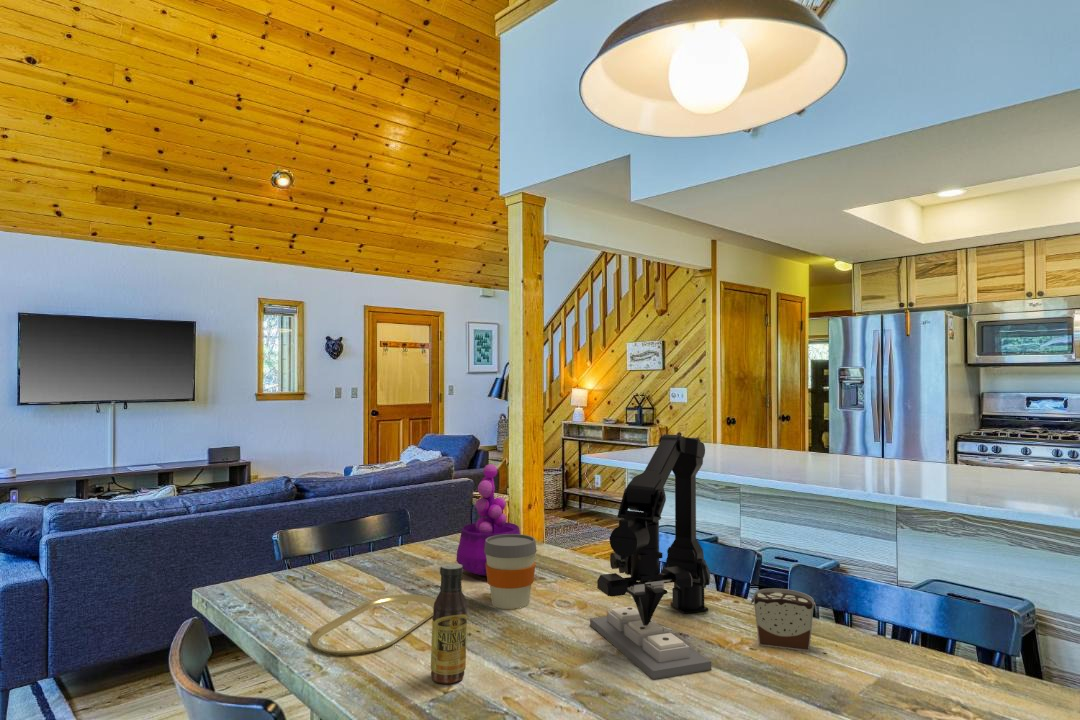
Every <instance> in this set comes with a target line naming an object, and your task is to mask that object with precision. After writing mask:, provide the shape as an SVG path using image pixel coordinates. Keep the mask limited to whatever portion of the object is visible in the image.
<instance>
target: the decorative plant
mask: <svg viewBox="0 0 1080 720" xmlns="http://www.w3.org/2000/svg"><path fill="white" fill-rule="evenodd" d="M482 472H483V475H484V476H485V477H483V478H482V480H480V482H479V484H478V486H477V492H478V494H479V495H480V496H481V497H482V498H481V497H480V498H479V499H477V500H476V502H475V506H474V507H475V508H476V510H477V513H478V515H479V516H480V517H479V519H478V520H476V522H473V523H469V524H465V525H463V526H462V528H461V531H460V536H459V537H460V539H459V543H458V547H457V551H456V561H455V562H457V564H461V565H462V566H463V571H466V572H468V573H471V574H473V575H478V576H483V577H484V576H486V577H487V573H486V565H485V564H486V562H487V559H486V554H485V553H484V549H485V540H486V539H487V538H489V537H491V536H495V535H502V534H521V532H520V527H519V525H518V524H515V523H512V522H507V519H508V518H507V515H506V514H505V513H503V510H505V508H506V506H507V502H506V500H505V499H504V498H503V497H495V491H496V489H495V488H496V487H495V486H496V485H495V481H494V477H495V478H496V476H497V474H498V469H497V466H496V465H494V464H491V463H490V464H486V465H485V466H484V468H483V471H482Z"/></svg>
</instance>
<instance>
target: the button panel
mask: <svg viewBox="0 0 1080 720" xmlns="http://www.w3.org/2000/svg"><path fill="white" fill-rule="evenodd" d="M639 620H641V618H639V619H631V620H624V621H621V620H620V619H618V618H617V617H616V616H614V615H613V614H612V610H609V611H607V612H606V615H605V616H598V617H596V616H595V617H590V618H589V625H591V626H590V627H592V629H594V630H595V629H596V630H597V631H598V632H597V631H596V630H595V631H596V632H597V633H599V635H601V634H602V635H601V636H602V637H603V636H604V637H605V638H604V637H603V638H604V639H606V640H607V641H608V642H609V641H610V642H611V643H612V644H613V645H612V644H611V643H610V642H609V643H610V644H611V645H612V646H614V647H615V648H616V649H617V650H618V649H619V650H620V651H619V650H618V651H619V652H621V654H623V655H624V656H625V657H626V656H627V657H626V658H628V659H629V660H630V661H631V662H632V663H633V664H634V665H636V666H637V667H638V668H639V669H640V670H641V671H643V672H644V673H645V674H646V675H647V676H648V677H649V678H651V679H652V680H658V679H660V680H661V679H665V678H670V677H675V676H676V675H677V676H683V675H687V674H693V673H694V672H695V673H699V672H705V671H711V670H712V661H711V659H708V658H707V657H706V656H704V655H703V654H701V653H700V652H699V651H697V650H695V649H694V648H693V647H691V646H690V645H688V643H685V642H684V647H678V648H671V649H665V650H659V649H658V648H656V647H655V646H654V645H652V644H651V643H650V642H649V641H648V636H652V635H659V634H666V633H671V632H669V631H668V630H667V629H666V628H664V627H663V631H662V632H655V633H648V634H641V635H639V634H638V633H637V632H635V631H634V630H633V629H631V628H630V627H629V622H632V621H639ZM681 674H682V675H681Z"/></svg>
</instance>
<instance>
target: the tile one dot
mask: <svg viewBox="0 0 1080 720" xmlns="http://www.w3.org/2000/svg"><path fill="white" fill-rule="evenodd" d="M648 641H649V642H650V643H651V644H652V645H654V646H655V647H656V648H658V649H659V650H665V649H671V648H678V647H684V643H685V641H684V640H682V639H680V638H679V637H677V636H676V635H674V634H673V633H672V632H670V633H666V634H659V635H652V636H648Z"/></svg>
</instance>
